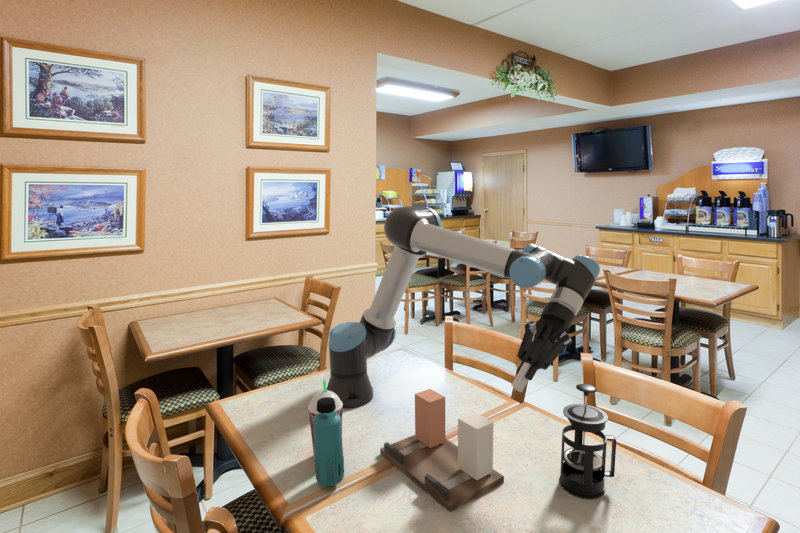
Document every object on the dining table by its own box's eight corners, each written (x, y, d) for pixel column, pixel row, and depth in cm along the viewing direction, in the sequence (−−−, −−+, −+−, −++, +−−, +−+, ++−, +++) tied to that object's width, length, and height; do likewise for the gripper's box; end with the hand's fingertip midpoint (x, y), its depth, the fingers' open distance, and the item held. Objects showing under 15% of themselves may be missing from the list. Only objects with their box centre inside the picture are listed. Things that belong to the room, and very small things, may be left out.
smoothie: (350, 451, 113) (347, 376, 110) (335, 470, 106) (331, 389, 102) (321, 445, 116) (317, 372, 113) (304, 463, 108) (300, 385, 105)
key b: (430, 431, 118) (430, 388, 116) (445, 441, 113) (445, 396, 111) (415, 437, 115) (414, 393, 113) (430, 448, 110) (429, 402, 109)
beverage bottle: (342, 493, 97) (339, 406, 94) (312, 493, 97) (307, 407, 94) (346, 474, 104) (343, 393, 101) (318, 474, 104) (314, 393, 101)
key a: (473, 459, 105) (473, 411, 103) (492, 472, 100) (493, 422, 99) (457, 467, 102) (457, 418, 101) (476, 480, 98) (477, 429, 96)
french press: (560, 497, 95) (565, 394, 91) (552, 470, 104) (555, 376, 100) (619, 501, 93) (626, 397, 89) (605, 474, 102) (611, 378, 99)
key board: (429, 433, 121) (429, 421, 120) (503, 482, 100) (504, 467, 99) (380, 454, 112) (380, 441, 111) (450, 512, 91) (450, 496, 90)
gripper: (591, 323, 110) (546, 406, 103) (545, 312, 120) (502, 387, 113) (579, 305, 106) (532, 390, 99) (533, 296, 116) (488, 372, 109)
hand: (516, 388), depth 106 cm, fingers closed
